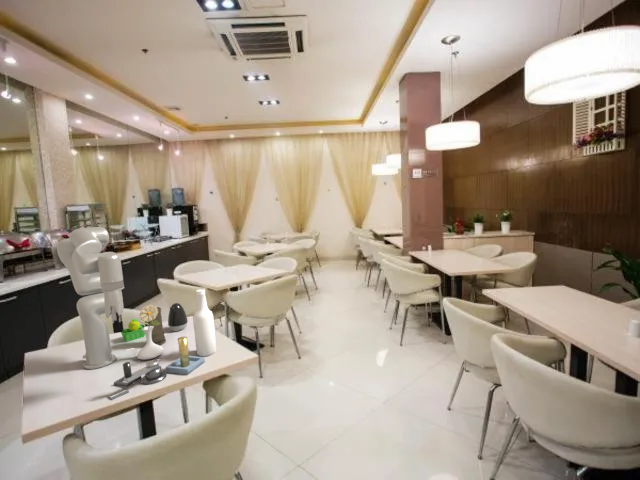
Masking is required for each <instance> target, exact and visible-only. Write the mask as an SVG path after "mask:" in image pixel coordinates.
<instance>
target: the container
mask: <svg viewBox="0 0 640 480" xmlns="http://www.w3.org/2000/svg"><path fill="white" fill-rule="evenodd" d="M156 307H157V309H158V310H157V311H158V314H157V316H156V318H155V319H154V320H157V321H158V322H159V323H160V324H159V325H156V326H154V325H153V324H152V323H151V321H154V320H151V321H150V322H146V321H145V323H148V324H149V325H150V324H151V325H150V326H154V327H153V329H152V333H151V337H152V342H153V343H155V344H157V345H159V346H162V345H164V344H165V343H166V342H167V339H166V336H165V331H164V326H163V319H162V317H163V316H162V308H161V307H158V306H156ZM149 325H147V324H144V326H145V327H147V326H149Z"/></svg>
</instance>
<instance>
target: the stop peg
mask: <svg viewBox="0 0 640 480" xmlns="http://www.w3.org/2000/svg"><path fill="white" fill-rule="evenodd" d="M177 342H178V343H177V344H178V352H179V358H180V364H181V367H187V366H189V365H190V362H189V356H190V353H189V345H188V343H189V342H188V336H181V337H178V338H177Z"/></svg>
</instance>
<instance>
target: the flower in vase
mask: <svg viewBox="0 0 640 480" xmlns="http://www.w3.org/2000/svg"><path fill="white" fill-rule="evenodd" d="M157 307H158V306H155V305H153V304H148V305H145V306H144V307H142V309H141V310H140V312H139V318H140V321H141V323H142V324H143V325H145V324H147V325H149V324H148V323H145V321H146V322H150V321H151V320H154V319H155V318H156V316H157V314H158V311H157V310H158V309H157ZM151 323H152V324H153V325H154V326H156V325H159V324H160V323H159V322H158V321H157V320H154V321H151ZM150 325H151V324H150ZM150 325H149V326H147V327H144V328H142V330H143V331H144V333H145V342H146V343H145V345H144V346H143V347H142V348H140V350H139V351H138V352H137V356H136V358H138V359H139V360H153V359H155V358H157V357H159V356H160V355H162V354H163V353H164V351H165V349H164V348H163V346H162V345H157V344H155V343H153V342H152V337H151V333H152V329H153V327H154V326H150Z"/></svg>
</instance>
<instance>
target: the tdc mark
mask: <svg viewBox="0 0 640 480" xmlns="http://www.w3.org/2000/svg"><path fill="white" fill-rule="evenodd" d="M128 393H130V391H129V390H128V389H126V388H123V389H121V390H119V391H117V392H115V393H112V394H110V395H108V396H107V398H108V399H110V400H112V401H113V400H115V399H116V398H119V397H122V396H123V395H125V394H128Z"/></svg>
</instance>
